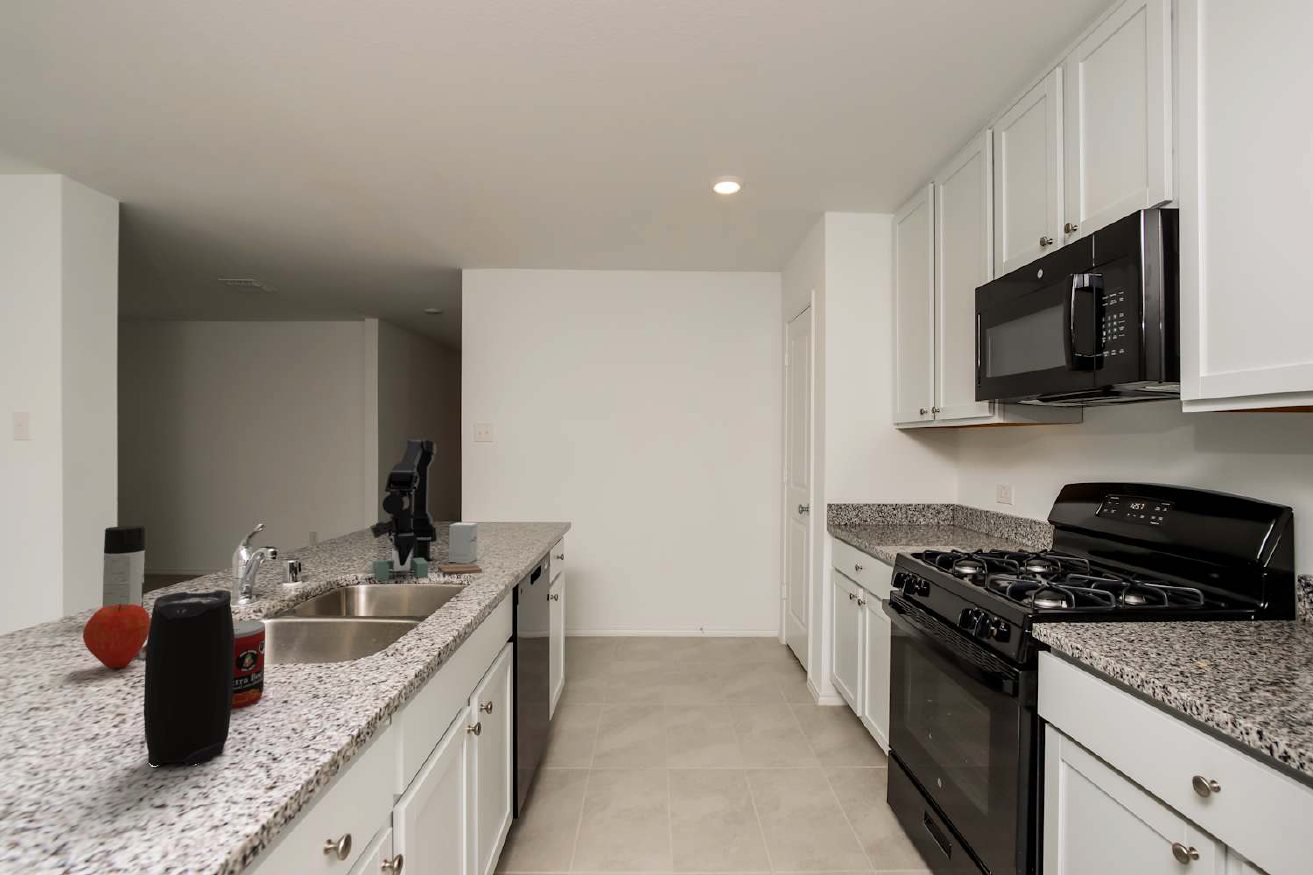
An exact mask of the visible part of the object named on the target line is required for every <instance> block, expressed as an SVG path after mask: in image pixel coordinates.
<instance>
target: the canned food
mask: <svg viewBox="0 0 1313 875" xmlns="http://www.w3.org/2000/svg"><path fill="white" fill-rule="evenodd" d="M233 626H234V634H235V646H234V690H233V701H232V705H233V708H232V709H231V711H233V710H236V709H241V708H245V707H247V706H250V705H252V704H255V703H257V702H258V701H259V700H260V699H261V698H262V695H263V692H264V685H265V684H264V683H265V658H266V657H265V656H266V655H265V652H266V650H265V649H266V624H265V622H263V621H261V620H255V619H244V620H233Z"/></svg>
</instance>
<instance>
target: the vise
mask: <svg viewBox="0 0 1313 875" xmlns="http://www.w3.org/2000/svg"><path fill="white" fill-rule="evenodd" d="M389 569H392V559H390V560H389V559H387V560H386V559H381V560H374V561H373V562H372V567H370V568H369V567H368V568H366V569H365V572H366V573H365V574H366V575H372V574H373V575H374V573H375V575H374V576H376V577H375V579H376V581H377V582H381V581H389V580H390V571H389ZM410 569H412V570H413V571H414V573H415V575H416V576H415V575H414V576H415V577H416V578H417V579H418V578H419V579H421V578H427V577H426V576H428V573H429V562H428V561H426V560H425V559H424V558H412V559H410ZM412 570H411V571H412ZM414 573H413V574H414ZM428 577H429V576H428Z"/></svg>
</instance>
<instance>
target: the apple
mask: <svg viewBox="0 0 1313 875" xmlns="http://www.w3.org/2000/svg"><path fill="white" fill-rule="evenodd" d="M150 623H151V618H150V615H149V612H148V611H147V609H145V608H144V606H143V607H141V606H138V605H128V604H126V605H121V604H120V605H118V606H110V607H104V608H100V609H98V610H97V611H95V612H94V613H93V614H92V616H91V617H90V618H89V619H88V620H87V623H86V625H85V626H84V628H83V634H82V639H83V642H84V645H85V647H86V648H87V650H88V651H89V652H90V653H91V654H92V656H94V657H95V658H96V659H97V661H100V663H101V664H102V665H104V666H105V667H106V668H110V669H111V668H112V669H121V668H127V667H128V666H129V664H131V662H132V661H133V660H134V659H135V657H136V656H137V655H139V652H140V651H141V650H142V649H143V646H144V644H145V643H146V642H147V640H148V634H149V628H150Z"/></svg>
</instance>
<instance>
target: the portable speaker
mask: <svg viewBox="0 0 1313 875" xmlns="http://www.w3.org/2000/svg"><path fill="white" fill-rule="evenodd" d="M231 602H232V595H231V591H230V590H225V589H218V590H215V591H213V592H200V593H199V592H198V593H197V592H193V593H192V592H191V593H189V592H187V591H181V592H174V593H168V594H163V595H161V596H159V597H156V599H155V601H154V602H153V607H152V612H151V618H150V621H151V622H150V628H149V634H148V637H147V639H146V646H145V647H146V648H145V665H144V667H145V670H144V693H143V696H144V697H143V719H144V720H143V721H144V741H146V750H147V753H148V754H147V755H148V756H147V757H148V759H147V760H148V762H149V763H150V764H151V765H153V766H157V765H160V764H161V765H162V763H177V762H179V763H181V762H184V763H185V764H186V765H187V766H188V765H195V764H198V763H201V762H203V763H205V762H204V761H206V762H208V761H210V759H211V760H213V759H214V758H215V757H217V756H218V755H221V754H222V752H223V750H224V747H225V744H226V742H227V740H228V737H229V730H230V723H231V716H232V715H231V714H232V710H233V709H232V708H233V705H232V701H233V690H234V646H235V634H234V626H233V621H234V620H233V613H232V612H233V611H232V607H231ZM231 709H232V710H231ZM207 760H208V761H207ZM148 762H147V763H148ZM201 764H202V763H201ZM161 765H160V766H161Z"/></svg>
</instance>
